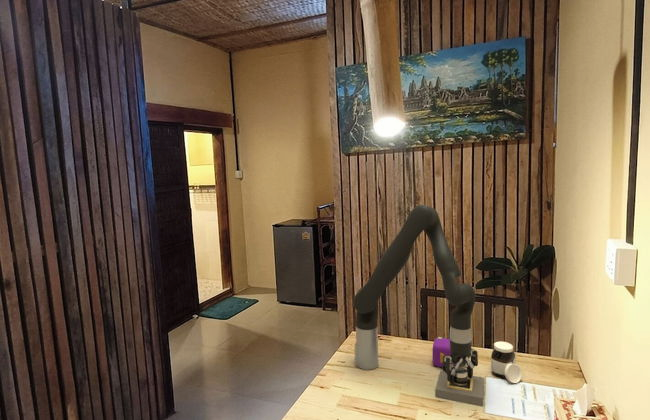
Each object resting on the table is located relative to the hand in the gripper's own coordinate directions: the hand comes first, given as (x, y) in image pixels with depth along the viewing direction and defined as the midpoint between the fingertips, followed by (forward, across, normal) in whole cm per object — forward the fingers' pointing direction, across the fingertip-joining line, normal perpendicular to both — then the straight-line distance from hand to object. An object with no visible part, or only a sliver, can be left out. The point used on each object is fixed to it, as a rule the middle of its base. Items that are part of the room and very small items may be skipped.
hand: (460, 379), depth 146 cm
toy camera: (+5, +9, +18) cm, 20 cm away
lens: (+4, 0, 0) cm, 4 cm away
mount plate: (+4, 0, 0) cm, 4 cm away
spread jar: (+5, +23, +1) cm, 24 cm away
